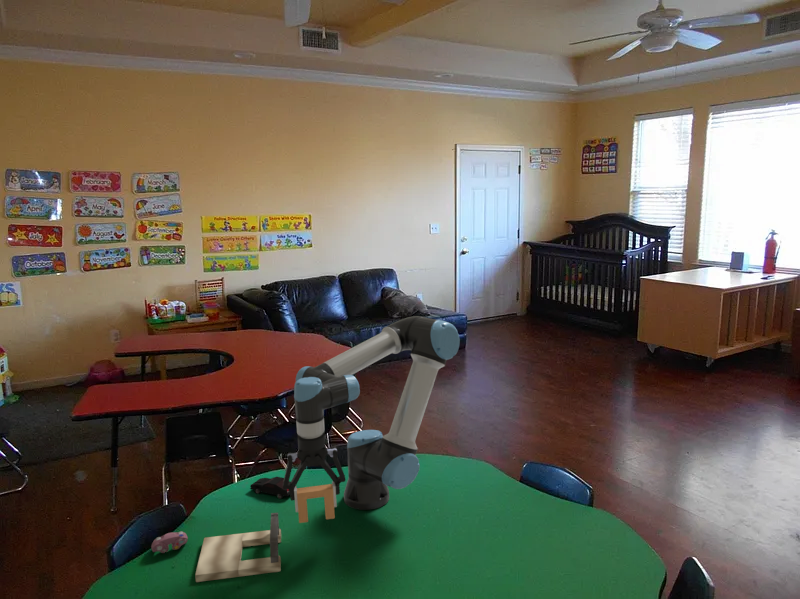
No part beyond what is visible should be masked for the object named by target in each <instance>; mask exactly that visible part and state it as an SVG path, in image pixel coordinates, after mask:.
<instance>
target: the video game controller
mask: <svg viewBox="0 0 800 599" xmlns="http://www.w3.org/2000/svg"><path fill="white" fill-rule="evenodd" d="M188 539H189V537H188V535H187V533H186V532H184V531H182V530H181V531H179V532H168V533H165V534H163V535H161V536H158V537H156V538H155V539H154V540H153V542H152V543H151V546H150V547H151V550H152V553H155V552H160V553H161V554H165V552H166V553H167V552H169V548H170V547H169V545H171V549H172V550H174V551H175V550H176V551H177V550H179V549H180V548H181V546H183V545H186V544H187V542H188V541H189V540H188Z"/></svg>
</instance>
